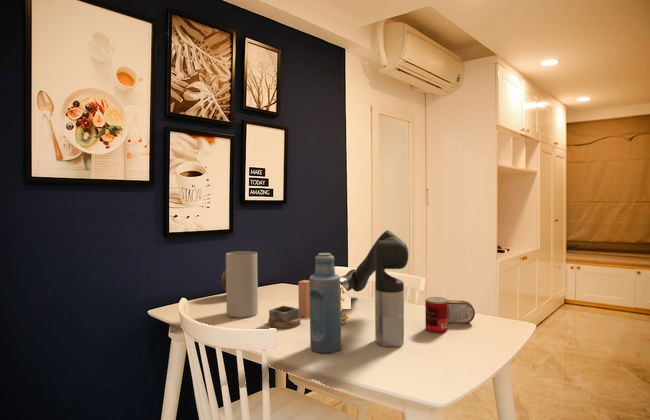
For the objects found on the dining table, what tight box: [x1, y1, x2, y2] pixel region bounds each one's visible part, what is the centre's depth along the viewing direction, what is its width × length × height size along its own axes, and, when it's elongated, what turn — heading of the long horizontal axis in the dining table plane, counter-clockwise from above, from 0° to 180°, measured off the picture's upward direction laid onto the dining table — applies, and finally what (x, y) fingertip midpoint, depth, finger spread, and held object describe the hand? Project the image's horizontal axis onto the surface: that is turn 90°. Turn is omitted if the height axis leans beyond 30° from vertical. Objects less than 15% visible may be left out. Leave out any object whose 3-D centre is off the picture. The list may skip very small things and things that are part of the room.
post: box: [297, 279, 310, 319], centre depth 169 cm, size 4×4×14 cm
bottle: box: [308, 252, 342, 355], centre depth 132 cm, size 10×10×30 cm
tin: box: [447, 299, 476, 325], centre depth 158 cm, size 15×3×8 cm, turn 84°
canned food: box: [424, 296, 449, 334], centre depth 150 cm, size 8×8×11 cm
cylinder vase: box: [225, 250, 259, 319], centre depth 172 cm, size 12×12×25 cm
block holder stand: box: [267, 305, 301, 330], centre depth 158 cm, size 12×12×6 cm
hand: (314, 292), depth 174 cm, fingers open, 8 cm apart
